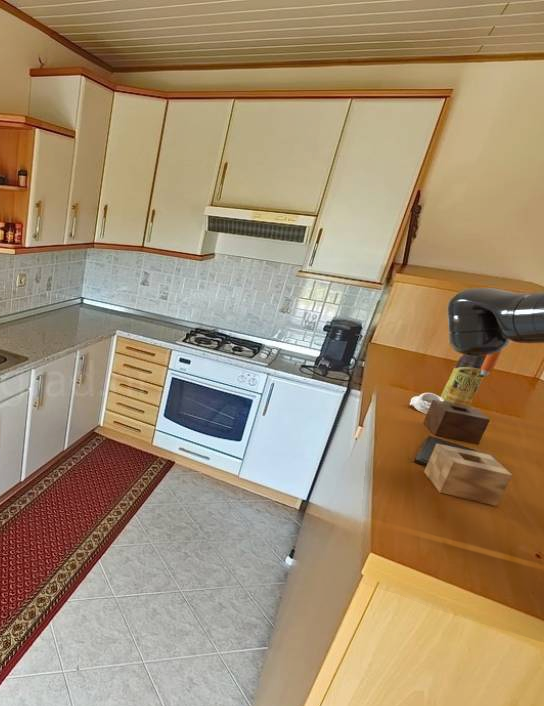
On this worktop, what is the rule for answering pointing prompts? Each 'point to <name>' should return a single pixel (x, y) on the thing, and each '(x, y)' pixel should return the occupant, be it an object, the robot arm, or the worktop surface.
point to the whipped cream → (424, 401)
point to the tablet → (429, 447)
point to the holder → (456, 421)
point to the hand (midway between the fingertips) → (515, 311)
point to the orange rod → (489, 363)
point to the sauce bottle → (464, 380)
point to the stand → (467, 474)
